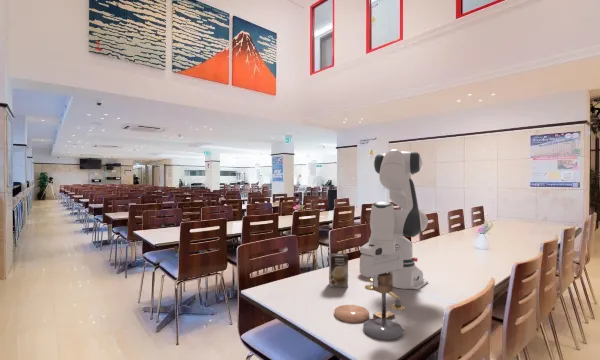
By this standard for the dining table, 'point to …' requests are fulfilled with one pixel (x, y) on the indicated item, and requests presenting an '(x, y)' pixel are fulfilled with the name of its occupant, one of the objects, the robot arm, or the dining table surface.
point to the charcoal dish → (383, 329)
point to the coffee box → (338, 270)
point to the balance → (384, 313)
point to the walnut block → (384, 283)
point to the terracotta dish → (351, 313)
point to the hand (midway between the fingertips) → (382, 284)
